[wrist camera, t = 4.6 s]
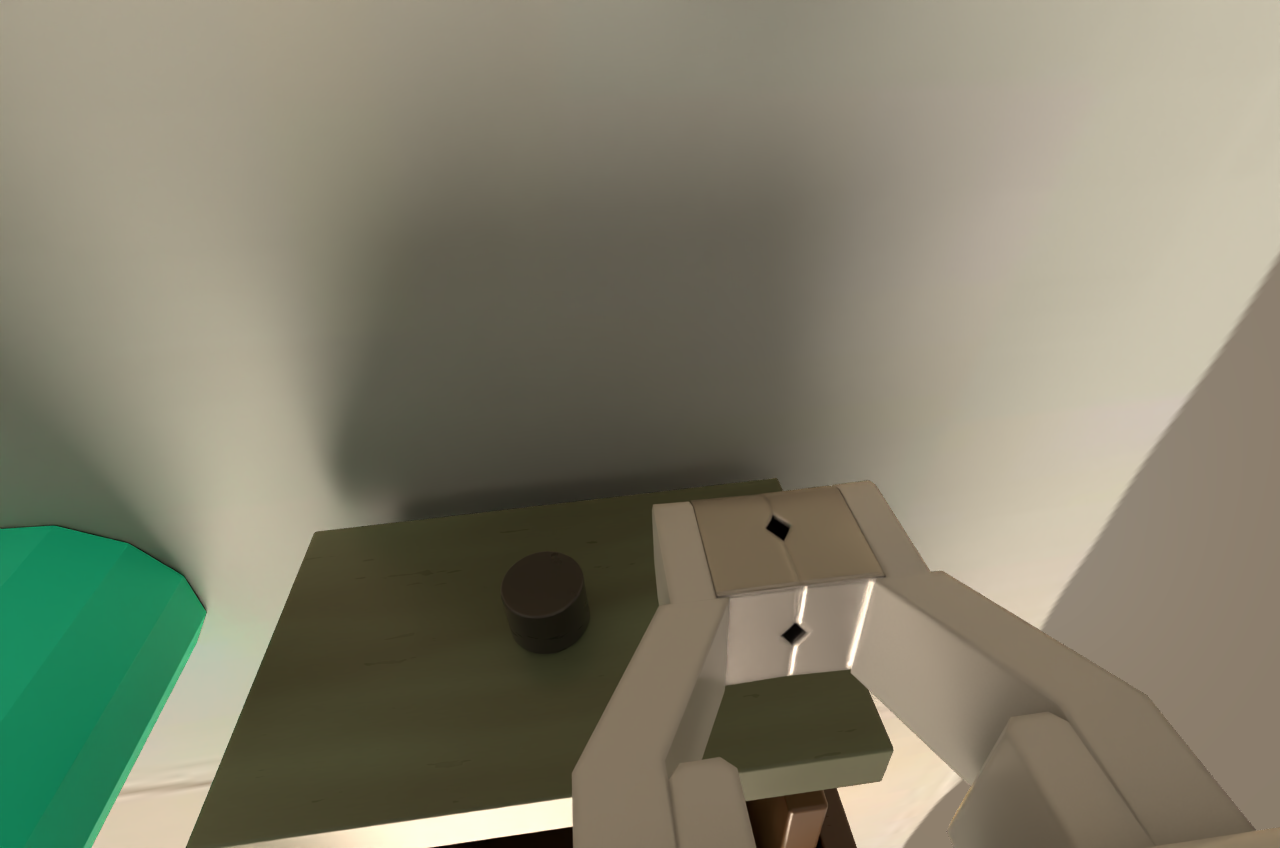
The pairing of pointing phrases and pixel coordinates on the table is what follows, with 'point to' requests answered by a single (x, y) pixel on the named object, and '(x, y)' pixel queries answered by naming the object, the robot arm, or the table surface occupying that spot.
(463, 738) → the drawer
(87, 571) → the candle
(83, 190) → the table surface
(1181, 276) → the table surface
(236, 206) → the table surface
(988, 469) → the table surface
